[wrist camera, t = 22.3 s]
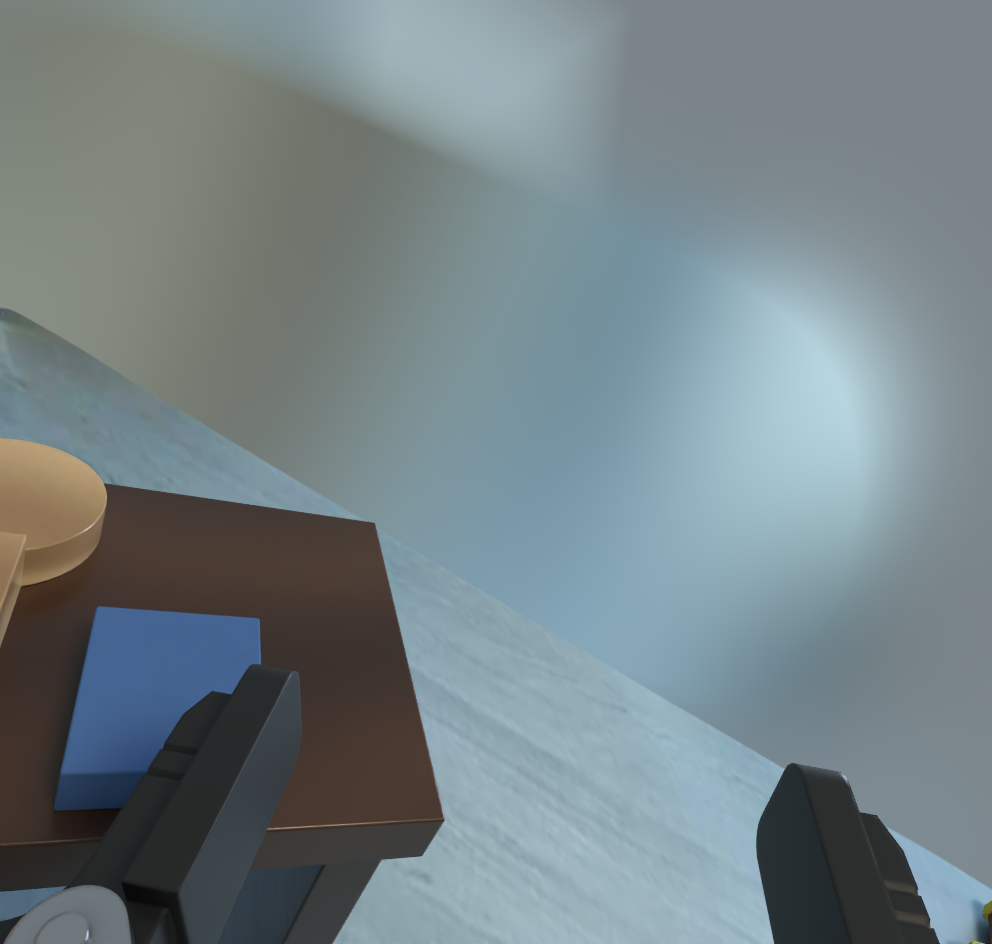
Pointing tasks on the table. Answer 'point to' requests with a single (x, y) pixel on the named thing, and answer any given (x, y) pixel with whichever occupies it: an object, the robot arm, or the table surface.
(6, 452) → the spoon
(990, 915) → the knife
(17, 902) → the table surface
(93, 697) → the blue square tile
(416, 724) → the stool
